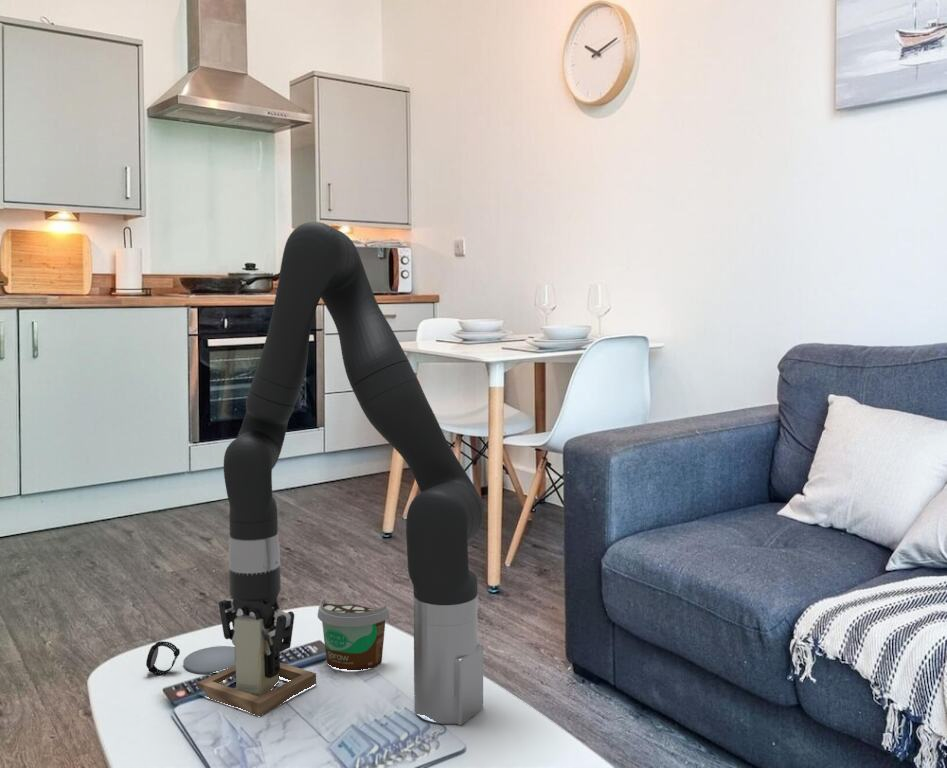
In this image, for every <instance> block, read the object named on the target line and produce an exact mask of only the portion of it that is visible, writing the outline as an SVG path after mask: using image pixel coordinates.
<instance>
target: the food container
mask: <svg viewBox="0 0 947 768" xmlns="http://www.w3.org/2000/svg"><path fill="white" fill-rule="evenodd" d="M317 618H318V619H319V621H321V622H322V623H321V624H322V631H323V641H324V650H325V657H326V658H325V659H326V664H327V663H328V664H329V665H331V666H332V667H336V668H339V669H347V670H361V669H362V670H363V669H368V668H372V669H375V668H377V667H378V666H380V665H382V662H383V653H384V652H383V651H384V640H385V631H386V620H387V619H389V618H390V614H389V608H387V604H385V605H383V606H381V607H379V608H370V607H366V606H362V605H359V604H355V603H353V604H351V603H350V604H335V603H333V604H332V603H327V602H326V599H325V597H324V598H322V600H320V604H319V606H318V612H317ZM328 664H327V665H328Z"/></svg>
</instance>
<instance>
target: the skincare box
mask: <svg viewBox="0 0 947 768" xmlns="http://www.w3.org/2000/svg"><path fill="white" fill-rule="evenodd" d="M234 624H235V645H234V647H235V655H236V657H235V658H236V684H235V686H236V687H235V689H237V690H240V691H243V692H246V693H249V694H252V695H255V696H258V697H260V696H262V695H264V694H266V693H268V692H270V691H272V690H273V689H274V688H273V687H274V685H275V684H276V683H277V682H278V681H280V680H279V673H278V674H277V675H276V676H274V677H272V678H266V677H265V664H264V654H265V651H264V645H263V640H262V635H261V632H262V629H264V632H265V633H268V632H269V631H270V630H271V627H270V628H269V629H265V628H264V624H263V619H259V620H253V619H250V616H248V615H245V616H243V617H237V618H236V619H235V620H234ZM269 641H270V644H271V645H273V642H272V639H271V637H270V638H269ZM272 688H273V689H272ZM271 689H272V690H271Z"/></svg>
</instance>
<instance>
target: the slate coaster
mask: <svg viewBox="0 0 947 768" xmlns="http://www.w3.org/2000/svg"><path fill="white" fill-rule="evenodd" d="M234 665H236V662H235V646H230V645H217V646H210V647H205V648H201V649H198V650H195V651H193V652H191V653H189V654H188V655H187V656H185V657H184V658H183V668H184V670H186V671H188V672H189V673H192V674H197V675H211V674H210V673H213V672H216V671H220V670H223V669H227V668H230V667H232V666H234Z"/></svg>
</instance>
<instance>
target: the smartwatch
mask: <svg viewBox="0 0 947 768" xmlns="http://www.w3.org/2000/svg"><path fill="white" fill-rule="evenodd" d="M160 647H166V648H168V649H170V650H171V651H172V652H173V656H174V658H173V661H172V663H171V666H170V667H169V668H168V669H166V670H163V669H162V670H161V669H158V667H156V665H155V664H156V663H157V658H158V655H159V648H160ZM180 651H181V649H180V648H178V647H177V646H176V645H175V644H173V643H172V642H169V641H163V640H162V641H157V642H155V644H154V645H152V646H151V647H150V648H149V651H148V654H147V657H146V663H145V664H146V668H147V671H148V672H149V673H151V674H153V675H156V676H165V675H167V674H168V673H169V672H171V670H172V669H173V667H174V665H175V663H176V660H177V659H178V657H179V656H180Z"/></svg>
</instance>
